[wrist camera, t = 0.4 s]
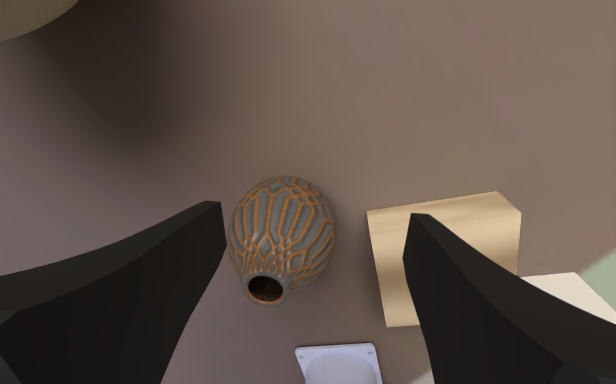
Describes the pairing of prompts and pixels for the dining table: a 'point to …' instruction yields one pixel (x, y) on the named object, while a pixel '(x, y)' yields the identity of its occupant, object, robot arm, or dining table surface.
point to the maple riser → (456, 217)
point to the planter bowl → (29, 15)
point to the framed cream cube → (574, 293)
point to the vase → (280, 239)
